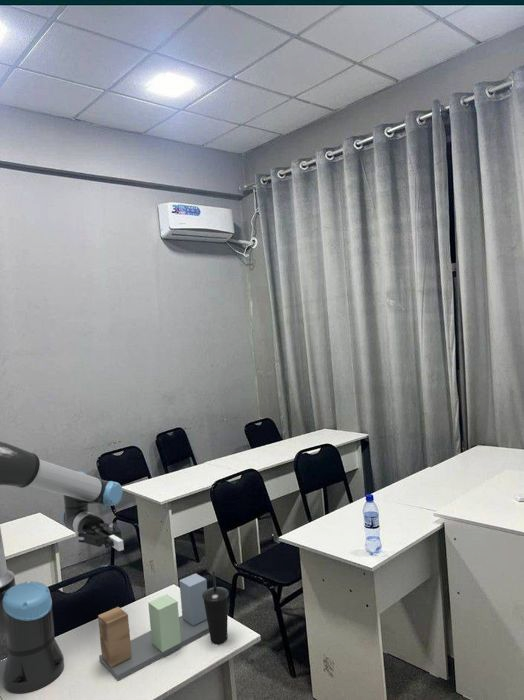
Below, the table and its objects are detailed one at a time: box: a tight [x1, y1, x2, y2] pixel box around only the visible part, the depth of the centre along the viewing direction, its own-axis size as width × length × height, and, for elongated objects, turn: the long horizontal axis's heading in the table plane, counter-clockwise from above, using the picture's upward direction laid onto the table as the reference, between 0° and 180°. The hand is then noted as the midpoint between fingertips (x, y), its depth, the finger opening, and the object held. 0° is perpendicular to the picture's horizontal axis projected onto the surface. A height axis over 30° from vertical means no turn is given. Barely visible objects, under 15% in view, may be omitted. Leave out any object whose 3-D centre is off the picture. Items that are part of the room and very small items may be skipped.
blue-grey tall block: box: [178, 573, 208, 626], centre depth 159 cm, size 6×6×12 cm
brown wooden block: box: [97, 606, 132, 667], centre depth 142 cm, size 6×6×12 cm
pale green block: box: [148, 593, 181, 652], centre depth 147 cm, size 6×6×12 cm
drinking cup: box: [202, 571, 230, 645], centre depth 150 cm, size 8×8×20 cm
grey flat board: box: [98, 615, 210, 681], centre depth 150 cm, size 12×32×2 cm, turn 130°
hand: (121, 545), depth 149 cm, fingers closed
